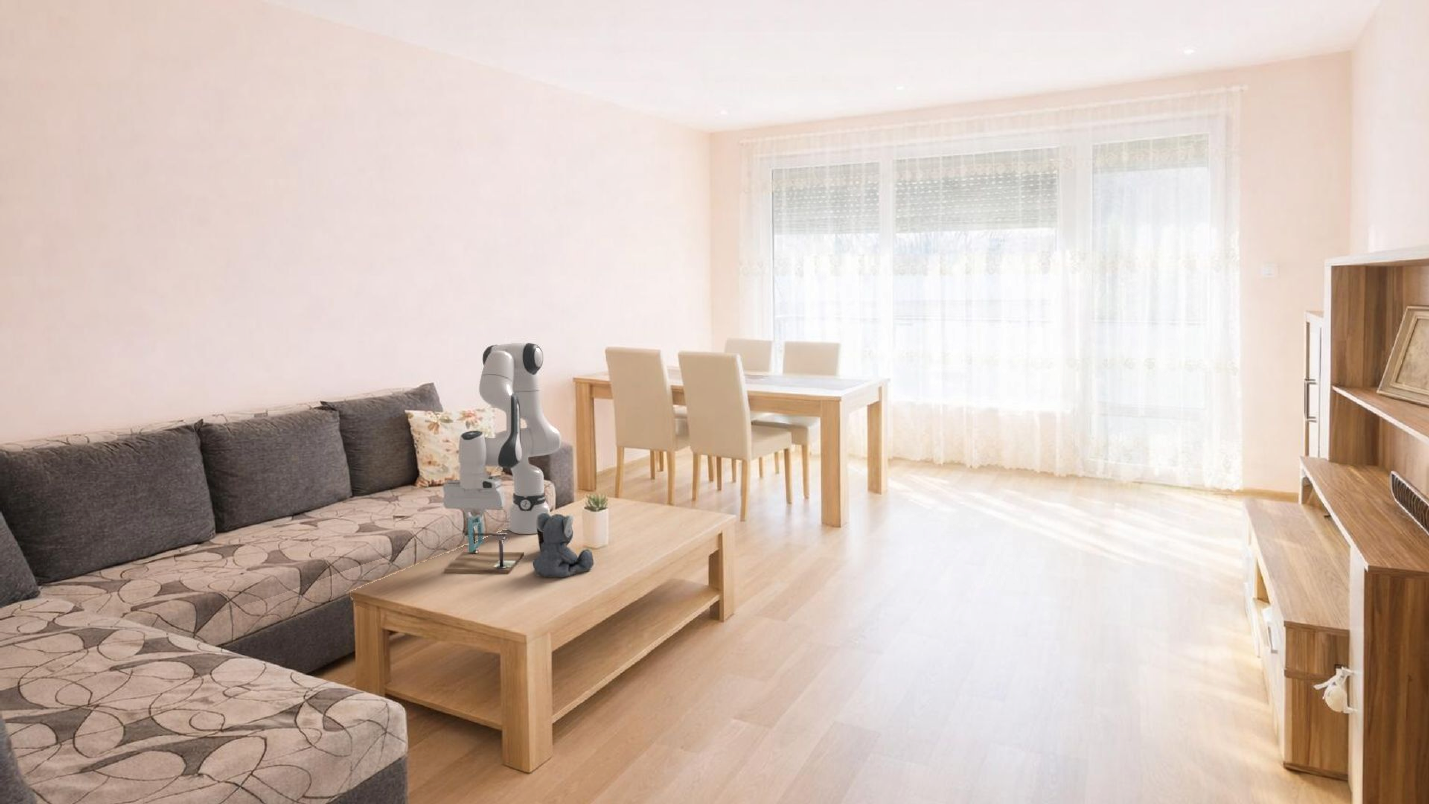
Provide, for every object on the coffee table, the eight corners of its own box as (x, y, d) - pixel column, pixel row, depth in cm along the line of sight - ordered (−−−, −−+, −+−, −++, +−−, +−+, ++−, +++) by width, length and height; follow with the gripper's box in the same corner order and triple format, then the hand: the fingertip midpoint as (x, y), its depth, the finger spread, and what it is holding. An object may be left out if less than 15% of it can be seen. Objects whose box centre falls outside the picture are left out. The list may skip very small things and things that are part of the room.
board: (463, 554, 294) (463, 550, 294) (524, 555, 294) (524, 551, 293) (444, 572, 276) (444, 568, 276) (509, 573, 275) (509, 569, 275)
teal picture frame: (468, 551, 280) (467, 521, 279) (479, 543, 289) (478, 514, 288) (472, 551, 280) (471, 521, 279) (482, 543, 289) (481, 514, 288)
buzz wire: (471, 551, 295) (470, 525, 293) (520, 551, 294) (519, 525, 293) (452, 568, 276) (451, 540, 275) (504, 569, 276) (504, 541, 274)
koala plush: (597, 568, 280) (596, 510, 278) (558, 584, 266) (557, 523, 263) (559, 559, 290) (557, 503, 287) (519, 574, 275) (517, 514, 273)
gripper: (439, 482, 280) (440, 523, 281) (499, 483, 277) (501, 525, 279) (447, 477, 286) (448, 518, 288) (506, 479, 284) (507, 520, 285)
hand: (475, 521), depth 283 cm, fingers closed on teal picture frame, 1 cm apart
